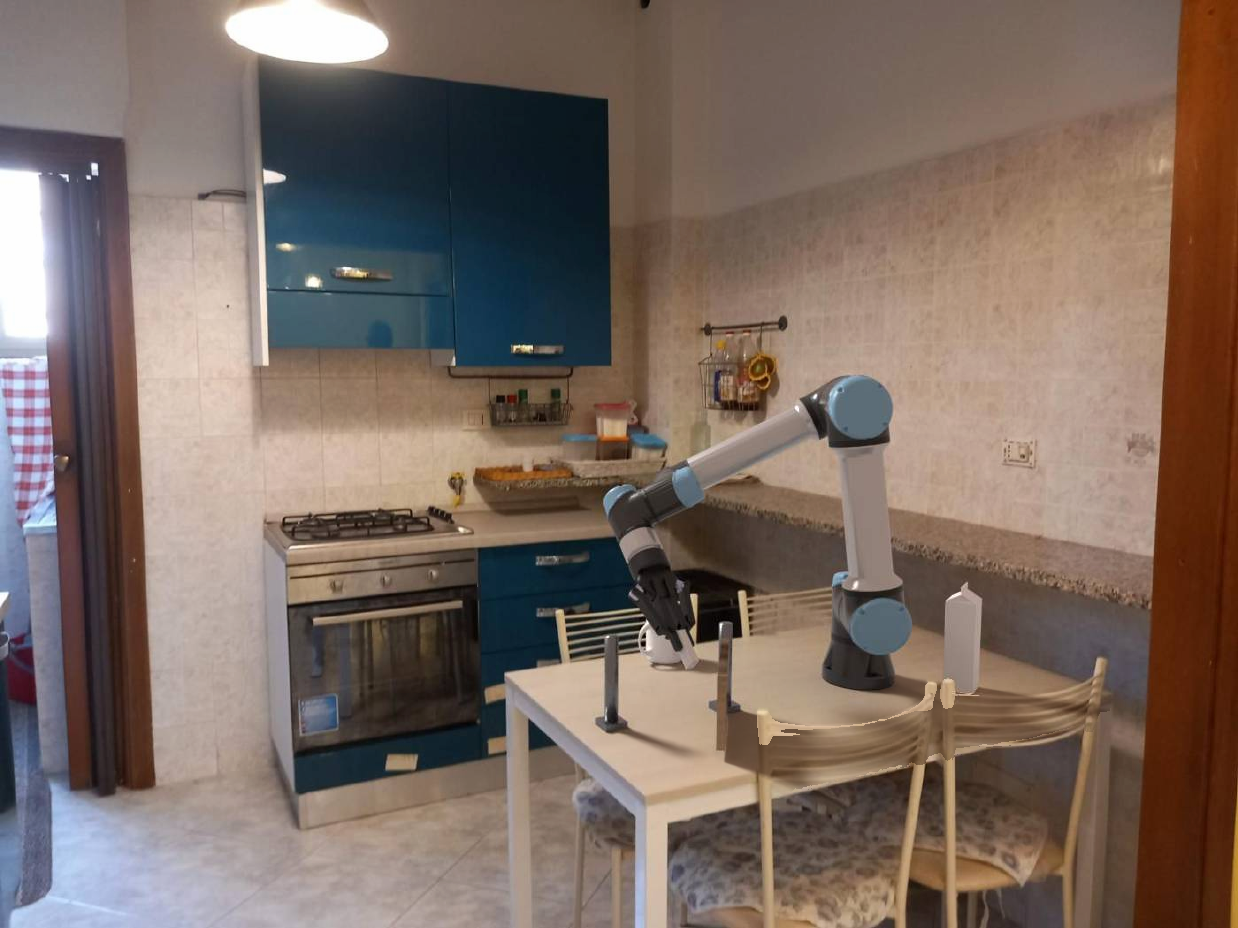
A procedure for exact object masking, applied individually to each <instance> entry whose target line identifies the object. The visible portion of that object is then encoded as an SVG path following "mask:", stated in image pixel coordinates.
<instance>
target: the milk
mask: <svg viewBox="0 0 1238 928" xmlns="http://www.w3.org/2000/svg"><path fill="white" fill-rule="evenodd" d="M968 586H969V582H968V581H966V583H964V584H963V585H962V586H961V587H960V589H961V591H959V592H956V593H954V594H952V595H951V596H949V597H948V598H947V599H946V600H945V611H944V612H945V614H944V615H945V616H944V639H943V640H944V641H943V663H942V665H943V666H942V681H943V680H944V679H947V678H949V679H952V680H954V682H955V690H956V692H963V693H974V694H975V692H976V691H977V689H978V688H979V676H980V658H981V657H980V655H981V654H980V653H981V630H982V629H981V628H982V611H983V610H982V607H983V598H981V597H980V596H979V595H977V594H976V593H975V592H973V591H972V590H970V589H969V587H968Z"/></svg>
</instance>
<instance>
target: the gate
mask: <svg viewBox="0 0 1238 928" xmlns="http://www.w3.org/2000/svg"><path fill="white" fill-rule="evenodd" d="M718 661H719V666H718V665H717V666H718V667H717V676H716V677H717V678H716V681H717V682H716V684H717V686H716V696H717V697H716V700H717V712H716V748H715V749H716V751H721V752H726V746H727V730H728V729H727V728H728V714H729V713H728V694H729V639H728V638H721V647H720V657H719V656H718Z"/></svg>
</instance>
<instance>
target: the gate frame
mask: <svg viewBox="0 0 1238 928" xmlns="http://www.w3.org/2000/svg"><path fill="white" fill-rule="evenodd" d="M733 624H734V623H733V622H731V621H719V623H718V658H719V657H720V647H721V638H728V639H729V694H728V714H730V713H731V714H732V713H736V712H737V713H738V712H740V711H741V709H742V708H741V707H742V706H741V704H740V703H738V702H736V701H734V700H732V694H733V693H732V688H733V687H732V685H733V683H732V681H733V680H732V679H733V678H732V677H733V634H734V633H733ZM619 638H620V637H619V634H616V633H608V634H604V661H603V662H604V664H603V665H604V666H603V667H604V669H603V670H604V672H603V673H604V675H603V676H604V677H603V678H604V684H603V685H604V687H603V688H604V695H603V697H604V699H603V700H604V706H603V707H604V708H603V709H604V711H603V712H604V714H603V715H602V716H597V717H595V722H594V723H595V725H596V726H597V727H598V728H600V729H601V730H603V731H604V732H605V733H608V732H614V731H619V730H624V729H628V728H629V727H628V720H626V719H624V717H622V716H620V715H619V693H620V692H619V690H620V689H619V679H620V678H619V677H620V675H619V672H620V671H619V670H620V669H619V664H620V663H619V661H620V660H619V659H620V658H619V654H620V653H619V651H620V649H619V648H620V647H619V643H620V641H619V640H620V639H619ZM717 664H718V665H717V666H719V660H718V663H717ZM708 708H709V709H710V710H712V711H714V712H715V713H717V699H713V700H709V701H708Z"/></svg>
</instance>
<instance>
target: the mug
mask: <svg viewBox="0 0 1238 928" xmlns="http://www.w3.org/2000/svg"><path fill="white" fill-rule="evenodd" d="M645 621H646V622H645V624H644V625H643V626H642V627H641V629H640V631H639V634H638V649H639V651H640V653H641V655H642V656H644V657H646V659H647V660H648V661H650V663H651V662H652V663H654V664H661V665H673V664H677V663H679V662H681V661H682V659H681V657H680V654H679V652H675V651H674V649H673V647H672V644H671V642H670V640H666V639H665V635H661V636H658V635H657V634H656V633H655V631H654V630H653V628H652V627H651V625H650V624H649V622H648V621H647V619H646V618H645ZM676 631H677V630H676ZM644 634H645V636H646V637H645V649H644V648H643V647H642V645H641V640H642V637H643V636H644Z"/></svg>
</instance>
